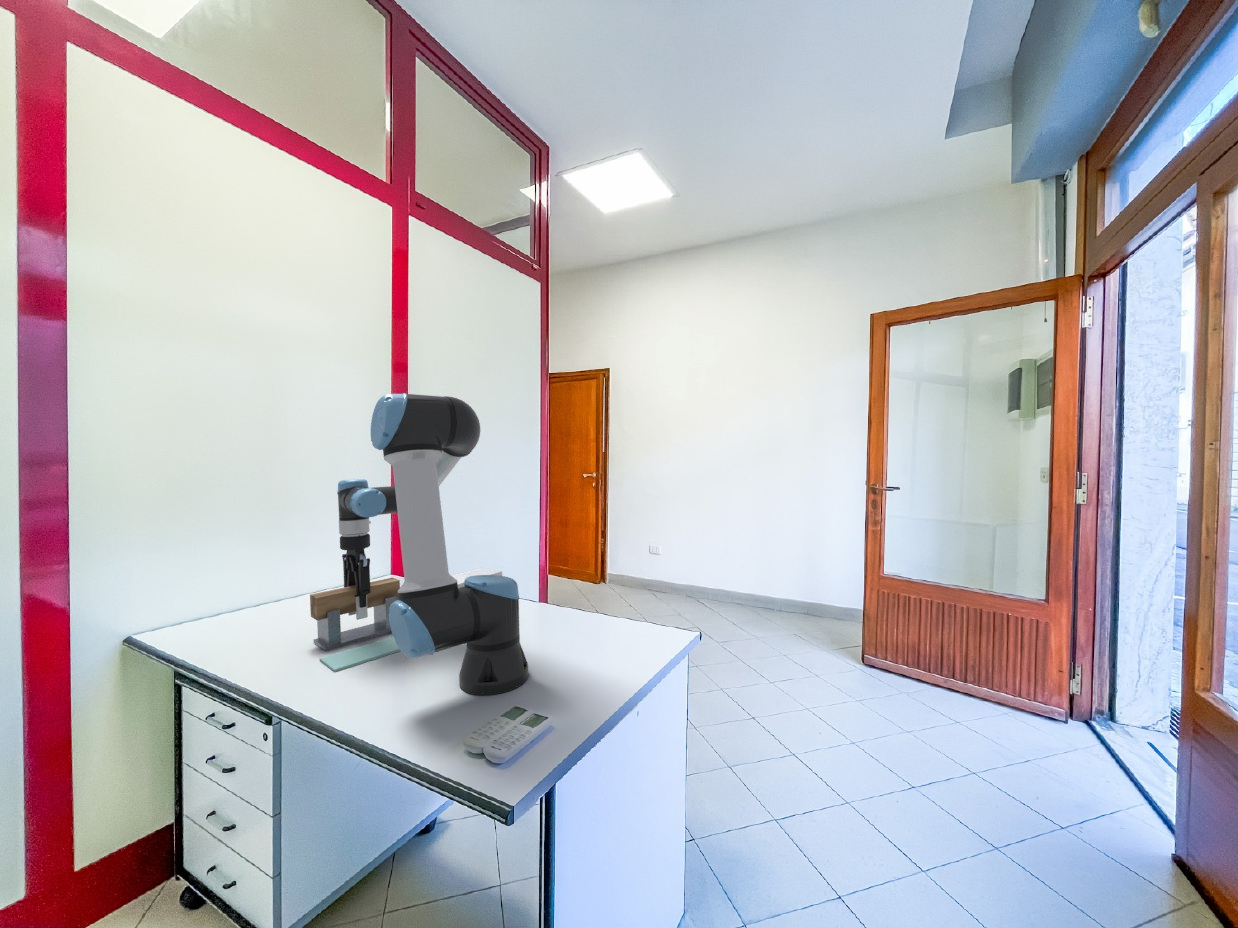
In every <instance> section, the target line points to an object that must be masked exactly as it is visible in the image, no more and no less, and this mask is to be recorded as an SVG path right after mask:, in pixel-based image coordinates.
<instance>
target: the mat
mask: <svg viewBox="0 0 1238 928" xmlns="http://www.w3.org/2000/svg"><path fill="white" fill-rule="evenodd" d="M398 652H402V651H401V650H400V649H399V647H398V645H397V644H396V642H395V639H394V637H393V636H390V637H387V638H384V639H381V640H378V641H374V642H371V643H368V644H364V645H360V646H358V647H355V648H351V649H350V648H349V649H347V650H343V651H340V652H337V653H334V654H330V655H327V656H324V657H320V658H319V662H320V663H322V664H323V665H325V667H327V668H328V669H330V671H332V672H333V673H336V672H339V671H342V670H346V669H348V668H352V667H355V666H357V665H361V664H364V663H367V662H370V661H374V660H376V659H380V658H383V657H385V656H388V655H392V654H396V653H398Z"/></svg>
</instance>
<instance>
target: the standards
mask: <svg viewBox="0 0 1238 928" xmlns="http://www.w3.org/2000/svg"><path fill="white" fill-rule="evenodd" d="M395 601H396V596H391V597H387V598H384V604H383V605H379V606H375V607H373V623H370V624H367V625H362V626H359V627H355V628H351V629H347V630H343V631H341V629H342V628H341V615H340V609H335V610H331V611H327V612H326V619H322V620H318V621H317V620H316V623H317V624H316V625H317V638H314V639H313V640H312V641H313V644H314V643H315V644H314V645H316V646H317V647H318V648H320V650H323V651H324V652H327V651H331V650H335V649H339V648H342V647H345V646H349V645H352V644H356V643H359V642H363V641H366V640H369V639H373V638H376V637H381V636H383V635H386V634H387V635H388V634H390V633H391V634H392V631H391V627H390V622H389V613H390V612H389V608H390V605H391V604H392V603H393V602H395Z"/></svg>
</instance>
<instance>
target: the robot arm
mask: <svg viewBox="0 0 1238 928" xmlns="http://www.w3.org/2000/svg"><path fill="white" fill-rule="evenodd" d="M370 421H371V423H370V441H371V442H372V447H373V448H375V449H376V450H379V451H382V452H383V453H382V454H383V460H384V461H386V462H387V463H388V464H389V465H390V466H391V467H392V472H393V482H394V485H392V486H376V487H375V486H374V487H369V484H368V480H367V479H364V478H363V479H362V478H360V479H359V478H356V479H355V478H353V479H342V480H340V481H338V483H337V492H336V493H337V501H338V502H337V503H338V531H339V533H338V534H339V535H340V537H339V548H340V550H342V551H346V552H345V553H343V554H342V555H341V556H342V557H341V558H342V564H343V565H342V566H343V588H344V587H349V586H354V585H356V590H357V595H354V596H355V597H356V611H355V612H351V613H347V614H348V616H349V617H350V616H353V615H356V616H355V617H356V620H357V621H358V620H362V619H366V618H368V616H369V613H368V608H367V594H369V593H370V592H371V590H370V582H371V572H370V571H371V570H370V564H371V558H369V557H368V558H367V555H366V553H365V549H367V548H369V547H371V534H369V532H370V524H371V523H372V522H371V520H370V518H374V517H378V516H381V515H389V514H391V515H393V514H397V519H398V521H397V522H398V530H399V539H400V550H401V558H402V559H401V560H402V568H403V576H404V577H403V578H404V582H403V583H402V584H401V585H400V589H399V590H398V600H397V601H395V602H393V603H392V604H391V605H390V608H389V612H390V613H389V622H390V627H391V631H392V632H391V634H392V637H394V639H395V642H396V644H397V645H398V647H399V649H400V650H401V651H400V652H401V653H402V654H403V655H405V656H406V657H408V658H412V659H417V658H420V657H424V656H427V655H428V656H432V655H434V654H435V653H438V652H441V651H446V650H448V649H452V648H454V647H458V646H461V645H465V644H466V649H465V653H464V656H463V660H462V663H461V667H460V670H459V675H458V680H459V683H458V685H459V687H460V689H461V690H462V691H464V692H465V693H468V694H472V695H478V696H490V695H491V696H492V695H498V694H503V693H506V692H510V691H512V690H515V689H517V688H519V687H520V686H522V685H523V684H525V682H526V681H527V680H528V679H529V664H528V661H527V658H526V655H525V653H524V650H523V648H522V644H521V641H520V639H521V638H520V636H521V635H520V634H521V633H520V602H519V601H520V593H519V588H518V587H519V586H518V583H517V581H516V580H515V579H513V578H511V577H509V576H504V575H502V576H498V575H475V576H470V577H467V578H466V579H465V581H464V585H465V586H464V587H460V588H458V583H457V580H456V579H455V578H454V577H452V575H451V574H450V573H449V572H450V571H449V564H448V557H447V555H448V554H447V546H446V538H445V530H444V529H445V528H444V521H443V512H442V504H441V502H442V501H441V496H440V486H441V485H442V483H443V482H444V480H445V479H446V478H447V477H448V476H449V474H450V473H451V472H452V471H453V469H454V468H455V466H456V465H457V464H458V462H459V461H460V460H461V459H462V458H464V457H467V456H469V455H470V454H471V453H472V451H473V450H474V449H475V448H476V446H477V444H478V442H479V440H480V437H481V422H480V419H479V417H478V415H477V413H476V411H475V410H474V409H473V408H472V406H470V405H469V404H468V403H467V402H465V401H463V399H459V398H457V397H452V396H447V395H446V396H439V395H427V394H426V395H425V394H415V393H413V394H412V393H405V392H402V393H387V394H384V395H382V396H381V397H379V399H378V400H377V402H376V404H375V405H374V409H373V412H372V416H371V420H370Z"/></svg>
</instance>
